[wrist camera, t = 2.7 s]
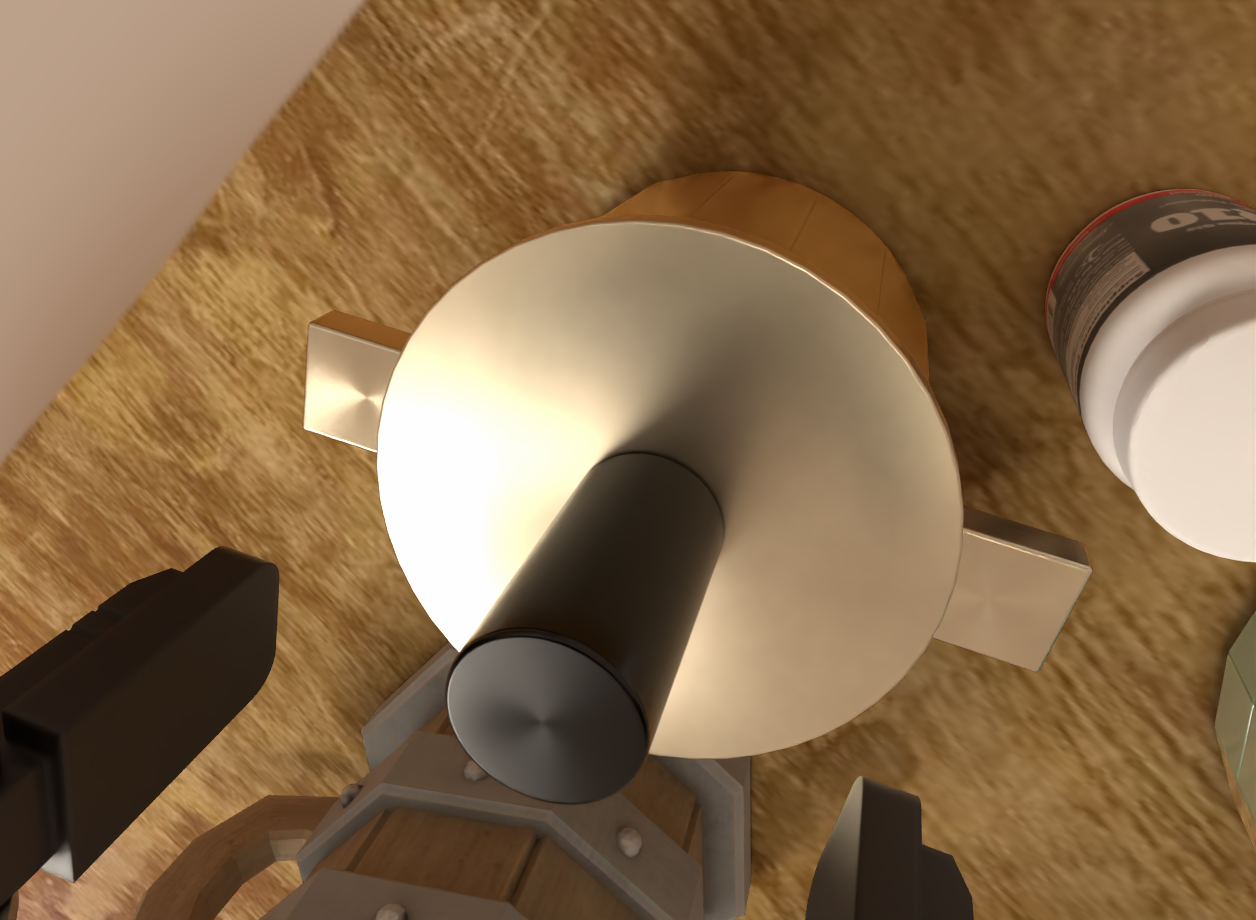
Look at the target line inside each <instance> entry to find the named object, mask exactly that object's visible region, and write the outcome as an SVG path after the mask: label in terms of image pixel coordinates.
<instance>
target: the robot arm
mask: <svg viewBox="0 0 1256 920" xmlns="http://www.w3.org/2000/svg"><path fill="white" fill-rule="evenodd" d="M278 595H279V571H278V568H277V566H276V565H275V564H273V563H271V562H268V561H265V560H262V559H259V558H257V557H254V556H251V555H248V554H245V553H243V552H240V551H237V550H234V549H232V548H229V547H225V546H221V547H217V548H215V549H214V550H212V551H210V552H209V553H208V554H207V555H205V556H204V557H203V558H201V559H200V560H199V561H197V562H196V563H195V564H193V565H192V566H191V567H189V568H188V569H187V570H185V571H184V572H181V571H178V570H175V569H172V568H170V569H168V570H165V571H162V572H160V573H157V574H154V575H151V576H149V577H146V578H143V579H140V580H138V581H135V582H132V583H130V584H128V585H127V586H126V587H124V588H123V589H122V590H120V591H119V592H117V593H116V594H115V595H113V596H112V597H110V598H109V599H108V600H106V601H105V602H104V603H102V604H101V605H99V607H98V610H97V611H96V612H95V611H91V612H90V613H88V614H87V615H86V616H84V617H83V618H81V619H80V620H79V621H77V622H76V623H74V624H73V625H72V628H71V630H70V631H68V630H65V631H63V632H62V633H61V634H59V635H58V636H56V637H55V638H54V639H52V640H51V641H49V642H48V643H47V644H45V645H44V646H43V647H41V648H40V649H38V650H37V651H36V652H34V653H33V654H31V655H30V656H29V657H27V658H26V659H25V660H23V661H22V662H20V663H19V664H18V665H16V666H15V667H13V668H12V669H11V670H9V671H8V672H7V673H5V674H4V675H2V676H1V677H0V920H16V918H17V911H18V904H19V894H18V889H20V888H21V887H22V886H23V885H24V884H25V883H26V882H27V881H28V880H29V879H30V878H31V877H32V876H33V875H34V874H35V873H36V872H37V871H38V870H39V869H42V870H44V871H47V872H49V873H51V874H54V875H56V876H58V877H61V878H63V879H65V880H68V881H70V882H73V883H74V882H75V881H76V880H77V879H78V878H79V877H80V876H81V875H82V874H83V873H84V872H85V871H86V870H87V869H88V868H89V867H90V866H91V865H92V864H93V863H94V862H95V861H96V860H97V858H98V857H99V856H100V855H101V854H102V853H103V852H104V851H105V850H106V849H107V848H108V847H109V846H110V845H111V844H112V843H113V842H114V841H115V840H116V839H117V838H118V837H119V836H120V835H121V834H122V833H123V832H124V831H125V830H126V829H127V828H128V827H129V825H130V824H131V823H132V822H133V821H134V820H135V819H136V818H137V817H138V816H139V815H140V814H141V813H142V812H143V811H144V810H145V809H146V808H147V807H148V806H149V805H150V804H151V803H152V802H153V801H154V800H155V799H156V798H157V797H158V796H159V795H160V794H161V792H162V791H163V790H164V789H165V788H166V787H167V786H168V785H169V784H170V783H171V782H172V781H173V780H174V779H175V778H176V777H177V776H178V775H179V774H180V773H181V772H182V771H183V770H184V769H185V768H186V767H187V766H188V765H189V764H190V763H191V762H192V761H193V759H194V758H195V757H196V756H197V755H198V754H199V753H200V752H201V751H202V750H203V749H204V748H205V747H206V746H207V745H208V744H209V743H210V742H211V741H212V740H213V739H214V738H215V737H216V736H217V735H218V734H219V733H220V732H221V731H222V730H223V729H224V728H225V727H226V725H227V724H228V723H229V722H230V721H231V720H232V719H233V718H234V717H235V716H236V715H237V714H238V713H239V712H240V711H241V710H242V709H243V708H244V707H245V706H246V705H247V704H248V703H249V702H250V701H251V700H252V699H253V698H254V696H255V695H256V694H257V693H258V692H259V690H260V689H261V687H262V686H263V684H264V682H265V681H266V679H267V677H268V675H269V672H270V670H271V667H272V665H273V661H274V657H275V651H276V633H277V614H278ZM805 920H974V918H973V904H972V896H971V894H970V892H969V890H968V888H967V886H966V884H965V881H964V879H963V877H962V875H961V873H960V871H959V869H958V867H957V865H956V862H955V860H954V858H953V856H952V855H949V854H947V853H944V852H941V851H938V850H936V849H933V848H930V847H927V846H925V845H922V825H921V802H920V799H919V797H918V796H915V795H912V794H909V793H907V792H904V791H901V790H898V789H896V788H893V787H890V786H887V785H884V784H882V783H879V782H876V781H873V780H870V779H868V778H865V777H862V776H859V777H858V778H857V779H856V781H855V782H854V784H853V786H852V788H851V791H850V793H849V795H848V797H847V799H846V802H845V804H844V806H843V808H842V811H841V813H840V815H839V817H838V819H837V822H836V824H835V826H834V828H833V830H832V833H831V835H830V837H829V839H828V842H827V844H826V846H825V848H824V850H823V853H822V855H821V857H820V860H819V862H818V865H817V868H816V871H815V874H814V878H813V881H812V885H811V889H810V894H809V898H808V904H807V911H806V919H805Z"/></svg>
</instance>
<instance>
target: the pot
mask: <svg viewBox="0 0 1256 920" xmlns="http://www.w3.org/2000/svg"><path fill="white" fill-rule="evenodd" d="M640 214H643V215H657V216H671V217H685V218H689V219H694V220H699V221H704V222H708V223H713V224H718V225H723V226H728V227H730V228H733V229H736V230H739V231H742V232H745V233H747V234H750V235H753V236H756V237H759V238H762V239H764V240H767V241H770V242H772V243H774V244H776V245H778V246H780V247H782V248H784V249H786V250H788V251H790V252H792V253H794V254H796V255H798V256H800V257H801V258H803V259H805V260H807V261H809V262H811V263H812V264H814V265H815V266H817V267H818V268H820V269H821V270H823V271H824V272H825V273H827V274H828V275H830V276H831V277H833V278H834V279H836V280H837V281H839V282H840V283H841V284H843V285H844V286H846V287H847V288H848V289H849V290H851V291H852V292H853V293H854V294H855V295H856V296H857V297H858V298H859V299H860V300H862V301H863V302H864V303H865V304H866V305H867V306H868V307H869V308H870V309H872V310H873V311H874V312H875V313H876V314H877V315H878V316H879V317H880V318H881V319H882V320H883V321H884V323H885V324H886V325H887V326H888V327H889V328H890V330H891V331H892V332H893V333H894V334H895V336H896V337H897V338H898V339H899V340H900V342H901V343H902V344H903V345H904V346H905V348H906V349H907V350H908V351H909V353H910V354H911V356H912V358H913V359H914V361H915V362H916V364H917V366H918V367H919V369H920V370H921V372H922V374H923V375H924V377H925V378H926V380H927V381H928V383H929V385H930V382H929V364H928V345H927V327H926V322H925V316H924V315H923V313H922V311H921V309H920V307H919V305H918V302H917V299H916V297H915V295H914V292H913V290H912V288H911V286H910V283H909V281H908V279H907V277H906V275H905V274H904V272H903V270H902V269H901V267H900V265H899V264H898V262H897V261H896V259H895V257H894V256H893V254H892V253H891V252H890V250H889V248H888V247H886V246H885V244H884V243H883V242H882V241H881V240H880V239H879V237H878V236H877V235H876V234H875V233H874V232H873V231H872V230H871V229H870V228H869V227H867V226H866V225H865V224H864V223H863V222H862V221H861V220H860V219H859V218H858V217H857V216H855V215H854V214H853V213H851V212H850V211H848V210H847V209H845V208H844V207H843V206H841V205H840V204H838V203H837V202H835V201H834V200H832V199H830V198H828V197H826V196H824V195H822V194H820V193H818V192H816V191H815V190H813V189H811V188H809V187H806V186H803V185H800V184H797V183H795V182H792V181H789V180H786V179H783V178H779V177H774V176H769V175H764V174H759V173H752V172H742V171H740V172H737V171H721V172H708V173H698V174H694V175H689V176H685V177H680V178H675V179H672V180H667V181H660V182H658V183H655V184H652V185H651V186H649V187H647V188H646V189H644V190H643V191H641V192H639V193H638V194H636V195H635V196H633V197H632V198H630V199H628V200H627V201H625V202H624V203H622V204H620V205H619V206H617V207H616V208H614V209H612V210H611V211H609V212H608V213H606V214H605V215H603V216H601V217H609V216H625V215H640ZM410 335H411V333H407V332H404V331H401V330H398V329H394V328H391V327H388V326H385V325H382V324H378V323H375V322H372V321H369V320H366V319H362V318H359V317H356V316H353V315H350V314H346V313H343V312H340V311H337V310H333V311H331V312H329V313H327V314H325V315H323V316H321V317H319V318H317V319H315V320H313V321H311V322H310V323H309V325H308V339H307V357H306V376H305V394H304V412H303V428H304V429H305V430H308V431H311V432H314V433H317V434H320V435H323V436H326V437H329V438H332V439H335V440H338V441H341V442H344V443H347V444H350V445H353V446H356V447H359V448H362V449H365V450H368V451H371V452H375V453H377V432H378V426H379V420H380V414H381V408H382V402H383V398H384V395H385V392H386V389H387V386H388V383H389V379H390V376H391V373H392V370H393V367H394V365H395V363H396V361H397V359H398V357H399V355H400V353H401V351H402V349H403V347H404V345H405V343H406V341H407V339H408V337H409V336H410ZM963 508H964V522H963V549H962V555H961V560H960V565H959V570H958V575H957V580H956V585H955V588H954V591H953V593H952V596H951V599H950V602H949V604H948V607H947V610H946V613H945V615H944V618H943V620H942V622H941V624H940V625H939V627H938V629H937V631H936V633H935V634H934V636H933V638H934V639H937V640H940V641H943V642H946V643H949V644H952V645H955V646H958V647H961V648H964V649H967V650H970V651H973V652H976V653H979V654H982V655H985V656H988V657H991V658H994V659H997V660H1000V661H1003V662H1006V663H1009V664H1012V665H1015V666H1018V667H1021V668H1024V669H1027V670H1030V671H1033V672H1038V671H1039V670H1040V669H1041V667H1042V665H1043V663H1044V661H1045V659H1046V657H1047V655H1048V654H1049V652H1050V650H1051V648H1052V646H1053V644H1054V642H1055V641H1056V639H1057V637H1058V635H1059V633H1060V631H1061V629H1062V628H1063V626H1064V624H1065V622H1066V620H1067V618H1068V616H1069V614H1070V613H1071V611H1072V609H1073V607H1074V605H1075V603H1076V601H1077V600H1078V598H1079V596H1080V594H1081V592H1082V590H1083V588H1084V587H1085V585H1086V583H1087V581H1088V579H1089V577H1090V575H1091V574H1092V570H1093V568H1092V565H1091V562H1090V559H1089V556H1088V553H1087V550H1086V547H1085V545H1084V544H1083V543H1081V542H1078V541H1075V540H1072V539H1068V538H1065V537H1062V536H1059V535H1056V534H1052V533H1049V532H1046V531H1043V530H1040V529H1036V528H1033V527H1030V526H1027V525H1023V524H1020V523H1017V522H1014V521H1011V520H1007V519H1004V518H1001V517H998V516H995V515H991V514H988V513H985V512H982V511H979V510H975V509H972V508H969V507H966V506H963Z"/></svg>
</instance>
